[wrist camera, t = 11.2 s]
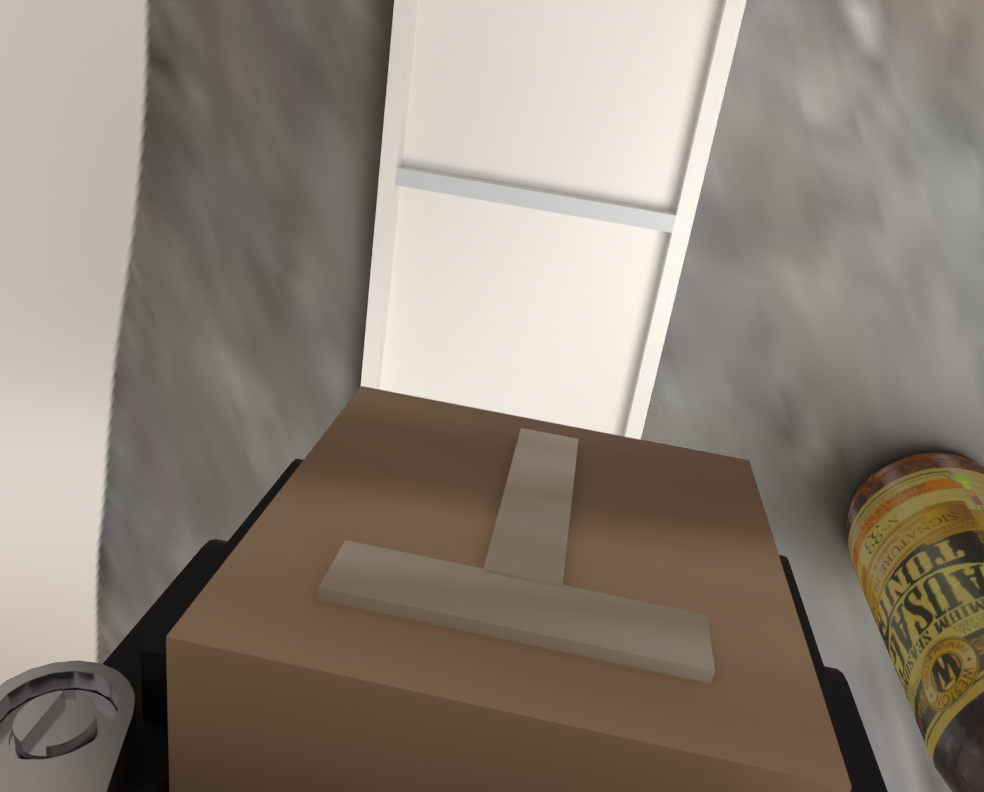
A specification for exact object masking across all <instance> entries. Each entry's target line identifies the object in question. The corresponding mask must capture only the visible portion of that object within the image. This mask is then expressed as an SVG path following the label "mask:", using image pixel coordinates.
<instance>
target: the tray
mask: <svg viewBox="0 0 984 792" xmlns="http://www.w3.org/2000/svg"><path fill="white" fill-rule="evenodd" d="M745 5H746V0H394V10H393V22H392V33H391V45H390V56H389V68H388V79H387V91H386V102H385V113H384V125H383V136H382V148H381V159H380V171H379V182H378V194H377V205H376V217H375V228H374V239H373V251H372V262H371V274H370V285H369V297H368V308H367V320H366V331H365V342H364V354H363V365H362V377H361V386H364V387H369V388H374V389H379V390H385V391H390V392H395V393H400V394H406V395H411V396H416V397H421V398H426V399H432V400H437V401H442V402H447V403H452V404H458V405H463V406H468V407H473V408H478V409H484V410H489V411H494V412H499V413H504V414H510V415H515V416H520V417H525V418H530V419H536V420H541V421H546V422H551V423H556V424H562V425H567V426H572V427H577V428H583V429H588V430H593V431H598V432H603V433H609V434H614V435H619V436H624V437H629V438H635V439H640V440H641V435H642V431H643V427H644V423H645V419H646V415H647V411H648V406H649V402H650V398H651V394H652V390H653V386H654V382H655V377H656V373H657V369H658V365H659V361H660V357H661V353H662V348H663V344H664V340H665V336H666V332H667V328H668V324H669V319H670V315H671V311H672V307H673V303H674V299H675V295H676V290H677V286H678V282H679V278H680V274H681V270H682V266H683V261H684V257H685V253H686V249H687V245H688V241H689V237H690V232H691V228H692V224H693V220H694V216H695V212H696V208H697V203H698V199H699V195H700V191H701V187H702V183H703V179H704V174H705V170H706V166H707V162H708V158H709V154H710V150H711V145H712V141H713V137H714V133H715V129H716V125H717V121H718V116H719V112H720V108H721V104H722V100H723V96H724V92H725V87H726V83H727V79H728V75H729V71H730V67H731V63H732V58H733V54H734V50H735V46H736V42H737V38H738V34H739V29H740V25H741V21H742V17H743V13H744V9H745Z"/></svg>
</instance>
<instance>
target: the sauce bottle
mask: <svg viewBox="0 0 984 792" xmlns="http://www.w3.org/2000/svg"><path fill="white" fill-rule="evenodd" d="M846 540H847V543H848V546H849V554H850V559H851V562H852V564H853V567H854V570H855V573H856V575H857V577H858V580H859V582H860V585H861V587H862V590H863V592H864V594H865V597H866V599H867V602H868V604H869V607H870V609H871V612H872V614H873V617H874V619H875V622H876V624H877V626H878V629H879V631H880V633H881V636H882V638H883V640H884V643H885V645H886V648H887V650H888V652H889V655H890V657H891V659H892V662H893V664H894V667H895V669H896V672H897V674H898V677H899V679H900V681H901V684H902V686H903V689H904V691H905V694H906V696H907V699H908V701H909V704H910V706H911V709H912V711H913V714H914V716H915V719H916V722H917V724H918V727H919V729H920V732H921V734H922V737H923V739H924V741H925V743H926V746H927V748H928V751H929V753H930V756H931V758H932V761H933V763H934V766H935V768H936V769H937V770H938V772H939V773H940V775H941V776H942V778H943V779H944V781H945V782H946V783H947V785H948V786H949V788H950V789H951V791H952V792H984V467H982V466H981V465H979V464H978V463H976V462H974V461H972V460H970V459H967V458H965V457H962V456H958V455H954V454H947V453H943V452H935V453H922V454H914V455H911V456H908V457H905V458H903V459H900V460H898V461H896V462H894V463H891V464H889V465H887V466H885V467H883V468H881V469H880V470H879V471H877V472H876V473H873V474H871V475H870V476H869V478H868V480H867V481H866V482H865V483H863V484H862V485H861V486H860V487H859V488H858V489H857V492H856V494H855V496H854V498H853V500H852V503H851V506H850V510H849V514H848V517H847V528H846Z"/></svg>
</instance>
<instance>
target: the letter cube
mask: <svg viewBox="0 0 984 792" xmlns="http://www.w3.org/2000/svg"><path fill="white" fill-rule="evenodd" d="M166 659H167V705H168V752H169V792H850V791H851V789H852V786H851V783H850V780H849V777H848V773H847V770H846V767H845V764H844V761H843V757H842V754H841V751H840V748H839V745H838V742H837V738H836V735H835V732H834V729H833V726H832V723H831V719H830V716H829V713H828V710H827V707H826V704H825V700H824V697H823V694H822V691H821V688H820V684H819V681H818V678H817V675H816V672H815V669H814V665H813V662H812V659H811V656H810V653H809V650H808V646H807V643H806V640H805V637H804V634H803V631H802V627H801V624H800V621H799V618H798V615H797V612H796V608H795V605H794V602H793V599H792V596H791V592H790V589H789V586H788V583H787V580H786V577H785V573H784V570H783V567H782V564H781V561H780V558H779V554H778V551H777V548H776V545H775V542H774V539H773V535H772V532H771V529H770V526H769V523H768V519H767V516H766V513H765V510H764V507H763V504H762V500H761V497H760V494H759V491H758V488H757V485H756V481H755V478H754V475H753V472H752V469H751V466H750V462H749V460H744V459H739V458H733V457H728V456H723V455H718V454H713V453H707V452H702V451H697V450H692V449H687V448H681V447H676V446H671V445H666V444H661V443H655V442H650V441H645V440H640V439H635V438H629V437H624V436H619V435H614V434H609V433H603V432H598V431H593V430H588V429H583V428H577V427H572V426H567V425H562V424H556V423H551V422H546V421H541V420H536V419H530V418H525V417H520V416H515V415H510V414H504V413H499V412H494V411H489V410H484V409H478V408H473V407H468V406H463V405H458V404H452V403H447V402H442V401H437V400H432V399H426V398H421V397H416V396H411V395H406V394H400V393H395V392H390V391H385V390H379V389H374V388H369V387H364V386H361V387H360V388H359V390H358V391H357V392H356V394H355V395H354V396H353V397H352V399H351V400H350V401H349V403H348V404H347V405H346V406H345V408H344V409H343V410H342V412H341V413H340V414H339V415H338V417H337V418H336V419H335V421H334V422H333V423H332V424H331V426H330V427H329V428H328V429H327V431H326V432H325V433H324V435H323V436H322V437H321V438H320V440H319V441H318V442H317V444H316V445H315V446H314V447H313V449H312V450H311V451H310V453H309V454H308V455H307V456H306V458H305V459H304V460H303V462H302V463H301V464H300V465H299V467H298V468H297V469H296V471H295V472H294V473H293V474H292V476H291V477H290V478H289V480H288V481H287V482H286V483H285V485H284V486H283V487H282V489H281V490H280V491H279V492H278V494H277V495H276V496H275V498H274V499H273V500H272V501H271V503H270V504H269V505H268V506H267V508H266V509H265V510H264V512H263V513H262V514H261V515H260V517H259V518H258V519H257V521H256V522H255V523H254V524H253V526H252V527H251V528H250V530H249V531H248V532H247V533H246V535H245V536H244V537H243V539H242V540H241V541H240V542H239V544H238V545H237V546H236V548H235V549H234V550H233V551H232V553H231V554H230V555H229V557H228V558H227V559H226V560H225V562H224V563H223V564H222V566H221V567H220V568H219V569H218V571H217V572H216V573H215V575H214V576H213V577H212V578H211V580H210V581H209V582H208V583H207V585H206V586H205V587H204V589H203V590H202V591H201V592H200V594H199V595H198V596H197V598H196V599H195V600H194V601H193V603H192V604H191V605H190V607H189V608H188V609H187V610H186V612H185V613H184V614H183V616H182V617H181V618H180V619H179V621H178V622H177V623H176V625H175V626H174V627H173V628H172V630H171V631H170V632H169V634H168V635H167V636H166Z"/></svg>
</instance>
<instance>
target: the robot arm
mask: <svg viewBox="0 0 984 792" xmlns="http://www.w3.org/2000/svg"><path fill="white" fill-rule="evenodd" d="M302 462H303V460H301V459H295V460H294V461H293V462H292V463H291V464H290V465H289V467H288V468H287V469H286V470H285V472H284V473H283V474H282V475H281V476H280V478H279V479H278V480H277V481H276V483H275V484H274V485H273V486H272V488H271V489H270V490H269V491H268V493H267V494H266V495H265V496H264V498H263V499H262V500H261V501H260V502H259V504H258V505H257V506H256V507H255V509H254V510H253V511H252V512H251V514H250V515H249V516H248V517H247V519H246V520H245V521H244V522H243V523H242V525H241V526H240V527H239V528H238V530H237V531H236V532H235V533H234V535H233V536H232V537H231V538H230V540H229V541H228V542H227V541H222V540H218V539H214V540H210V541H209V542H207V543H206V544H205V545H204V546H203V547H202V548H201V549H200V550H199V552H198V553H197V554H196V555H195V556H194V557H193V559H192V560H191V561H190V562H189V563H188V564H187V566H186V567H185V568H184V569H183V570H182V572H181V573H180V574H179V575H178V576H177V577H176V579H175V580H174V581H173V582H172V583H171V584H170V586H169V587H168V588H167V589H166V590H165V591H164V593H163V594H162V595H161V596H160V597H159V599H158V600H157V601H156V602H155V603H154V604H153V606H152V607H151V608H150V609H149V610H148V611H147V613H146V614H145V615H144V616H143V617H142V618H141V620H140V621H139V622H138V623H137V624H136V626H135V627H134V628H133V629H132V630H131V631H130V633H129V634H128V635H127V636H126V637H125V638H124V640H123V641H122V642H121V643H120V644H119V645H118V647H117V648H116V649H115V650H114V651H113V653H112V654H111V655H110V656H109V657H108V658H107V660H106V661H105V662H104V663H103V664H100V663H93V662H85V661H69V662H57V663H51V664H48V665H44V666H41V667H37V668H33V669H30V670H28V671H26V672H23V673H21V674H19V675H17V676H15V677H13V678H11V679H9V680H7V681H6V682H4V683H3V684H2V685H1V686H0V792H169V752H168V705H167V659H166V636H167V635H168V634H169V632H170V631H171V630H172V628H173V627H174V626H175V625H176V623H177V622H178V621H179V619H180V618H181V617H182V616H183V614H184V613H185V612H186V610H187V609H188V608H189V607H190V605H191V604H192V603H193V601H194V600H195V599H196V598H197V596H198V595H199V594H200V592H201V591H202V590H203V589H204V587H205V586H206V585H207V583H208V582H209V581H210V580H211V578H212V577H213V576H214V575H215V573H216V572H217V571H218V569H219V568H220V567H221V566H222V564H223V563H224V562H225V560H226V559H227V558H228V557H229V555H230V554H231V553H232V551H233V550H234V549H235V548H236V546H237V545H238V544H239V542H240V541H241V540H242V539H243V537H244V536H245V535H246V533H247V532H248V531H249V530H250V528H251V527H252V526H253V524H254V523H255V522H256V521H257V519H258V518H259V517H260V515H261V514H262V513H263V512H264V510H265V509H266V508H267V506H268V505H269V504H270V503H271V501H272V500H273V499H274V498H275V496H276V495H277V494H278V492H279V491H280V490H281V489H282V487H283V486H284V485H285V483H286V482H287V481H288V480H289V478H290V477H291V476H292V474H293V473H294V472H295V471H296V469H297V468H298V467H299V465H300V464H301V463H302ZM779 558H780V561H781V564H782V567H783V570H784V573H785V577H786V580H787V583H788V586H789V589H790V592H791V596H792V599H793V602H794V605H795V608H796V612H797V615H798V618H799V621H800V624H801V627H802V631H803V634H804V637H805V640H806V643H807V646H808V650H809V653H810V656H811V659H812V662H813V665H814V669H815V672H816V675H817V678H818V681H819V684H820V688H821V691H822V694H823V697H824V700H825V704H826V707H827V710H828V713H829V716H830V719H831V723H832V726H833V729H834V732H835V735H836V738H837V742H838V745H839V748H840V751H841V754H842V757H843V761H844V764H845V767H846V770H847V773H848V777H849V780H850V783H851V786H852V789H851V791H850V792H888V791H887V789H886V786H885V783H884V780H883V778H882V775H881V772H880V770H879V767H878V764H877V761H876V759H875V756H874V753H873V750H872V748H871V745H870V742H869V739H868V737H867V734H866V731H865V728H864V726H863V723H862V720H861V718H860V715H859V712H858V709H857V707H856V704H855V701H854V698H853V696H852V693H851V690H850V687H849V685H848V682H847V680H846V678H845V676H844V675H843V673H842V672H840V671H839V670H838V669H835V668H830V667H825V666H824V665H823V662H822V659H821V656H820V653H819V650H818V647H817V644H816V641H815V638H814V635H813V632H812V629H811V626H810V623H809V620H808V617H807V614H806V611H805V608H804V605H803V602H802V599H801V596H800V593H799V591H798V588H797V585H796V582H795V579H794V576H793V573H792V570H791V567H790V564H789V561H788V559H787V557H785V556H782V555H779Z"/></svg>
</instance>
